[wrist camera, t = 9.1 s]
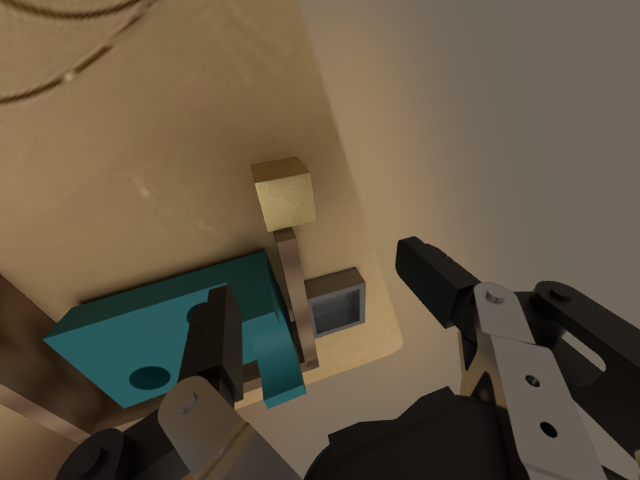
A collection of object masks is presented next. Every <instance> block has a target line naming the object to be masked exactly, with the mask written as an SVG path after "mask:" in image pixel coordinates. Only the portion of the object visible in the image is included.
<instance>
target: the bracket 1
mask: <svg viewBox="0 0 640 480" xmlns="http://www.w3.org/2000/svg"><path fill="white" fill-rule="evenodd" d="M273 232H274V236H275V240H276V244H277V248H278V252H279V257H280V261H281V265H282V269H283V273H284V277H285V281H286V286H287V290H288V294H289V298H290V302H291V306H292V311H293V315H294V319H295V321H294V322H291V326H292V330H293V335H294V340H295V344H296V349H297V353H298V358H299V362H300V367H301V371H302V373H303V372H306V371H309V370H312V369H314V368H317V367H319V363H318V357H317V352H316V346H315V341H314V335H313V330H312V324H311V319H310V313H309V308H308V302H307V297H306V291H305V285H304V280H303V274H302V269H301V263H300V258H299V252H298V247H297V241H296V237H295V235H294V232H293V230H292V227H288V228H283V229H279V230H275V231H273ZM55 325H56V323H55V322H54V321H52V320H51V319H50V318H49V317H48V316H47V315H46V314H44V313H43V312H42V311H41V310H40V309H39V308H38V307H36V306H35V305H34V304H33V303H32V302H31V301H30V300H28V299H27V298H26V297H25V296H24V295H23V294H21V293H20V292H19V291H18V290H17V289H16V288H15V287H13V286H12V285H11V284H10V283H9V282H8V281H7V280H5V279H4V278H3V277H2V276H1V275H0V404H2V405H4V406H6V407H8V408H10V409H12V410H14V411H16V412H18V413H19V414H22V415H24V416H25V417H27V418H29V419H31V420H33V421H35V422H37V423H39V424H41V425H43V426H45V427H47V428H49V429H51V430H53V431H55V432H57V433H59V434H60V435H63V436H64V437H67V438H68V439H70V440H72V441H74V442H76V443H78V444H81V443H82V442H83V441H85V440H86V439H87V438H89V437H90V436H91V435H93V434H95V433H97V432H99V431H101V430H104V429H107V428H116V429H118V430H120V431H121V432H123V431H125V430H126V429H128V428H129V427H131V426H132V425H134V424H136V423H137V422H139V421H140V420H142V419H143V418H145V417H146V416H148V415H149V414H151V413H152V412H154V411H155V410H156V409H158V408H159V407H160V405H161V403H162V401H163V399H164V397H165V396H166V394H167V393H168V392H167V393H165V394H162V395H159V396H156V397H154V398H151V399H148V400H146V401H143V402H140V403H137V404H135V405H132V406H129V407H127V408H123V407H122V406H120V405H119V404H118V403H117V402H116V401H114V400H113V399H112V398H111V397H110V396H109V395H107V394H106V393H105V392H104V391H103V390H101V389H100V388H99V387H98V386H97V385H96V384H94V383H93V382H92V381H91V380H90V379H88V378H87V377H86V376H85V375H84V374H83V373H81V372H80V371H79V370H78V369H77V368H75V367H74V366H73V365H72V364H71V363H70V362H68V361H67V360H66V359H65V358H64V357H62V356H61V355H60V354H59V353H58V352H57V351H55V350H54V349H53V348H52V347H51V346H49V345H48V344H47V343H46V342H45V341H44V340H42V339H43V338H44V337H45V336H46V335H47V334H48V333H49V332H50V331H51V330H52V329H53V327H54V326H55ZM260 387H262V382H261V376H260V371H259V366H258V362H257V360H255V361H252V362H249V363H246V364H244V365H243V393H246V392H249V391H252V390H254V389H257V388H260Z"/></svg>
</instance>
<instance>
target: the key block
mask: <svg viewBox="0 0 640 480" xmlns="http://www.w3.org/2000/svg"><path fill="white" fill-rule="evenodd" d="M251 166H252V171H253V177H254V182H255V186H256V190H257V194H258V197H259V201H260V205H261V209H262V212H263V216H264V220H265V224H266V228H267V231H268V232H271V231H275V230H279V229H283V228H288V227H292V226H296V225H300V224H305V223H309V222H313V221H316V213H315V205H314V197H313V189H312V181H311V173H310V171H309V170H308V169H307V168H306V167H305V166H304V165H303V164H302V162H301V161H300V160H299V159H298V158H297V157H292V158H287V159H281V160H275V161H270V162H264V163H259V164H253V165H251Z"/></svg>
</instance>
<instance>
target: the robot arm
mask: <svg viewBox="0 0 640 480" xmlns="http://www.w3.org/2000/svg"><path fill="white" fill-rule="evenodd" d="M395 267H396V271H397V273H398V275H399V277H400V278H401V279H402V280H403V281H404V282H405V283H406V285H407V286H408V287H409V288H410V289H411V290H412V291H413V293H414V294H415V295H416V296H417V297H418V298H419V300H420V301H421V302H422V303H423V304H424V305H425V306H426V308H427V309H428V310H429V311H430V312H431V313H432V314H433V315H434V317H435V318H436V319H437V320H438V321H439V322H440V324H441V325H442V326H443V327H444V328H445V329H447V328H449V327H452V326H456V327H457V328H458V329H459V330H458V344H459V354H460V364H461V373H462V380H461V387H460V395H454V393H453V392H452V391H451V389H450V388H449V386H447V387H444V388H442V389H440V390H437V391H435V392H432V393H430V394H427V395H425V396H422V397H420V398H419V399H418V400H417V401H416V402H415V403H414V404H413V405H412V406H410V407H409V408H408V409H407V410H406V411H405V412H404V413H403V414H402V415H401V416H399V417H398V418H397V419H394V420H381V421H367V422H359V423H356V424H354V425H351V426H349V427H346V428H344V429H341V430H339V431H337V432H334V433H332V434H329V435H328V438H329V443H330V444H329V445H328V446H327V447H326V448H325V449H324V450H322V452H321V453H320V454H319V455H318V456H317V457H316V459H315V460H314V461H313V463H312V464H311V466H310V468H309V469H308V471H307V473H306V475H305V477H304V480H628V479H626V478H624V477H622V476H620V475H619V474H617V473H615V472H613V471H611V470H610V469H608V468H606V467H604V466H602V465H601V464H600V462H599V459H598V457H597V455H596V453H595V450H594V448H593V445H592V443H591V441H590V438H589V436H588V434H587V432H586V429H585V427H584V425H583V423H582V420H581V418H580V415H579V413H578V411H577V408H576V406H575V404H574V402H573V400H574V401H575V402H576V403H577V404H579V406H580V407H582V408H583V410H585V411H586V413H588V414H589V415H590V416H591V417H592V418H593V419H594V420H595V421H596V422H597V423H598V424H599V425H600V426H601V427H602V428H603V429H604V430H605V431H606V432H607V433H608V434H609V435H610V436H611V437H612V438H613V439H614V440H615V441H616V442H617V443H618V444H619V445H620V446H621V447H622V448H623V449H624V450H625V451H627V453H628V454H630V456H631V457H633V458H634V459H635V460H636V462H637V464H638V466H639V468H640V330H639V329H638V328H636V327H635V326H633V325H631V324H630V323H628V322H627V321H625V320H624V319H622V318H620V317H619V316H617V315H615V314H614V313H612V312H611V311H609V310H608V309H606V308H604V307H603V306H601V305H600V304H598V303H596V302H595V301H593V300H592V299H590V298H588V297H587V296H585V295H584V294H582V293H580V292H579V291H577V290H576V289H574V288H572V287H570V286H568V285H565V284H562V283H559V282H554V281H541V282H539V283H537V285H536V286H535V288H534V290H533V292H532V291H531V292H512V291H511V290H509V289H508V288H506V287H504V286H502V285H499V284H495V283H490V282H483V283H482V282H481V281H479V280H478V279H477V278H476V277H474V276H473V275H472V274H470V273H469V272H468V271H466V270H465V269H464V268H463V267H461V266H460V265H459V264H458V263H456V262H454V261H453V259H451V258H450V257H449V256H447V255H446V254H445V253H444V252H442V251H441V250H440V249H439V248H437V247H434V246H432V245H429V244H425V243H423V242H422V241H421V240H420V239H419V238H417V237H415V236H413V237H409V238H405V239H402V240H399V241H398V245H397V254H396V263H395ZM566 331H568V332H569V333H571V334H572V335H573V336H575V337H576V338H577V339H579V340H580V341H581V342H582V343H584V344H585V345H586V346H588V347H589V348H590V349H591V350H593V351H594V352H595V353H597V354H598V355H599V356H600V357H601V358H602V359H603V361H604V362H605V365H606V370H605V371H604V372H603V371H601V370H600V369H599V368H598V367H596V366H595V365H594V364H593V363H591V362H590V361H589V360H588V359H586V358H585V357H584V356H583V355H582V354H580V353H579V352H578V351H577V350H575V349H574V348H573V347H572V346H570V345H569V344H568V343H567V342H566V341H564V340H563V339H562V336H563V335H564V334H565V332H566ZM240 400H243V344H242V317H241V312H240V309H239V306H238V304H237V302H236V299H235V297H234V295H233V292H232V290H231V288H230V286H229V285H228V284H227V285H224V286H220V287H216V288H212V289H210V290H209V292H208V299H207V303H204V304H200V305H198V307H197V308H196V310H195V311H194V313H193V314H192V316H191V319H190V324H189V330H188V333H187V340H186V343H185V348H184V353H183V358H182V362H181V367H180V372H179V377H178V381H177V384H176V385H175V386H174V387H173V388H172V389H171V390H170V391H169V392H168V393H167V394H166V396H165V397H164V399H163V401H162V403H161V405H160V407H159V408H158V409H156V410H155V411H154V412H152V413H151V414H149V415H148V416H146V417H145V418H143V419H142V420H140V421H139V422H137V423H136V424H134V425H132V426H131V427H129V428H128V429H126V430H125V431H123V432H121V431H120V430H118V429H116V428H107V429H104V430H101V431H99V432H97V433H95V434H93V435H91V436H90V437H89V438H87V439H86V440H85V441H83V442H82V443H81V444H80V445H79V446H78V447H77V448H76V449H75V450H74V451H73V452H72V454H71V455H70V456H69V457H68V458H67V460H66V461H65V462H64V464H63V465H62V467H61V469H60V471H59V473H58V475H57V477H56V479H55V480H181V479H182V478H183V477H185V476H186V475H187V474H188V473H190V472H191V474H192V475H193V477H194V479H195V480H303V479H302V478H301V477H300V476H299V475H298V474H297V473H296V472H295V471H294V470H293V469H292V468H291V467H290V466H289V465H288V464H287V462H286V461H285V460H284V459H283V458H282V457H281V456H280V455H279V454H278V453H277V452H276V451H275V450H274V449H273V448H272V447H271V445H270V444H269V443H268V442H267V441H266V440H265V439H264V438H263V437H262V436H261V435H260V434H259V433H258V432H257V431H256V430H255V429H254V428H253V427H252V426H251V425H250V424H249V423H247V422H246V421H245V420H243V418H242V417H241V416H240V415H239V414H238V413H237V412H236V411H235V410H234V403H235V402H238V401H240ZM638 478H639V480H640V473H639V474H638Z"/></svg>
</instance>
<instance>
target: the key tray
mask: <svg viewBox="0 0 640 480" xmlns="http://www.w3.org/2000/svg"><path fill="white" fill-rule="evenodd" d="M304 285H305V291H306V297H307V302H308V308H309V313H310V319H311V324H312V330H313V335H314V339H316V338H319V337H322V336H325V335H328V334H331V333H334V332H337V331H340V330H343V329H347V328H350V327H353V326H356V325H359V324H362V323H365V292H366V282H365V281H364V279H363V278H362V276H361V275H360V273H359V272H358V270H357V269H356V267H354V268H350V269H347V270H343V271H340V272H336V273H332V274H329V275H325V276H321V277H318V278H314V279H311V280H307V281H304Z"/></svg>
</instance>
